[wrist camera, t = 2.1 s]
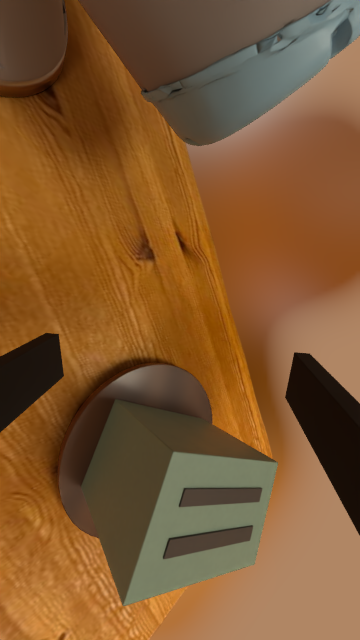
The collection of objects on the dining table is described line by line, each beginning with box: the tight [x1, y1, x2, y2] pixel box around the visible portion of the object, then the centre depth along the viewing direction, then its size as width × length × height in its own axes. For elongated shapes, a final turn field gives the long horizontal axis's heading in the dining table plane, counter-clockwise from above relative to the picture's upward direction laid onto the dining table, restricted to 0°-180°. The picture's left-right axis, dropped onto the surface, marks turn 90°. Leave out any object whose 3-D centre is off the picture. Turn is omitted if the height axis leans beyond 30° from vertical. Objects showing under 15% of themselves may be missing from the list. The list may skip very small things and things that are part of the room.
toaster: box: [57, 363, 278, 606], centre depth 22 cm, size 19×19×12 cm
